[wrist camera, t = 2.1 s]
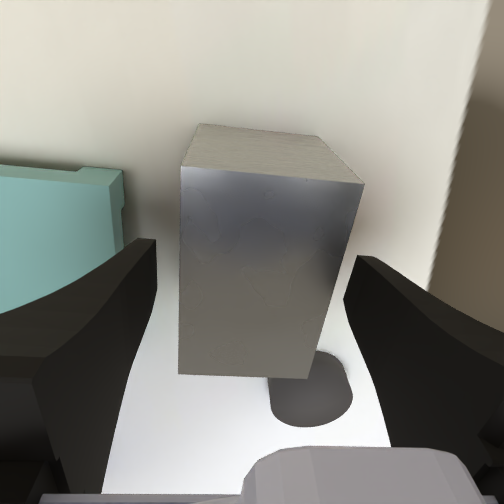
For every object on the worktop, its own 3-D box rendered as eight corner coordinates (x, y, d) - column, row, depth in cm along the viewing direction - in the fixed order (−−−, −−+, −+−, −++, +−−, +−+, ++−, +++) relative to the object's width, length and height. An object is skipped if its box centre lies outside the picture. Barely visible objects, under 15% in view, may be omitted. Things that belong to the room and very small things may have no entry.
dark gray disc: (333, 400, 24) (341, 428, 22) (262, 398, 23) (265, 426, 22) (352, 350, 21) (362, 376, 20) (273, 346, 21) (277, 372, 19)
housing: (283, 301, 19) (302, 395, 14) (192, 296, 19) (178, 391, 13) (317, 136, 15) (364, 184, 9) (199, 122, 14) (180, 165, 9)
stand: (138, 337, 20) (127, 372, 18) (-51, 328, 19) (-87, 364, 16) (126, 166, 15) (108, 186, 13) (-133, 140, 14) (-200, 158, 11)
